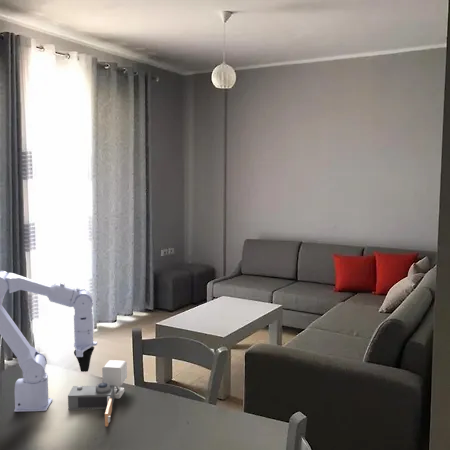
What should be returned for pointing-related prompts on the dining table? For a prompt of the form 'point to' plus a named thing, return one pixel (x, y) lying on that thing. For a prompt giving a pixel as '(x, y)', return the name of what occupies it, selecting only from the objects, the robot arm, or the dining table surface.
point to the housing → (90, 396)
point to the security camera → (115, 375)
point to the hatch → (108, 410)
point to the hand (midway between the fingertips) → (84, 370)
